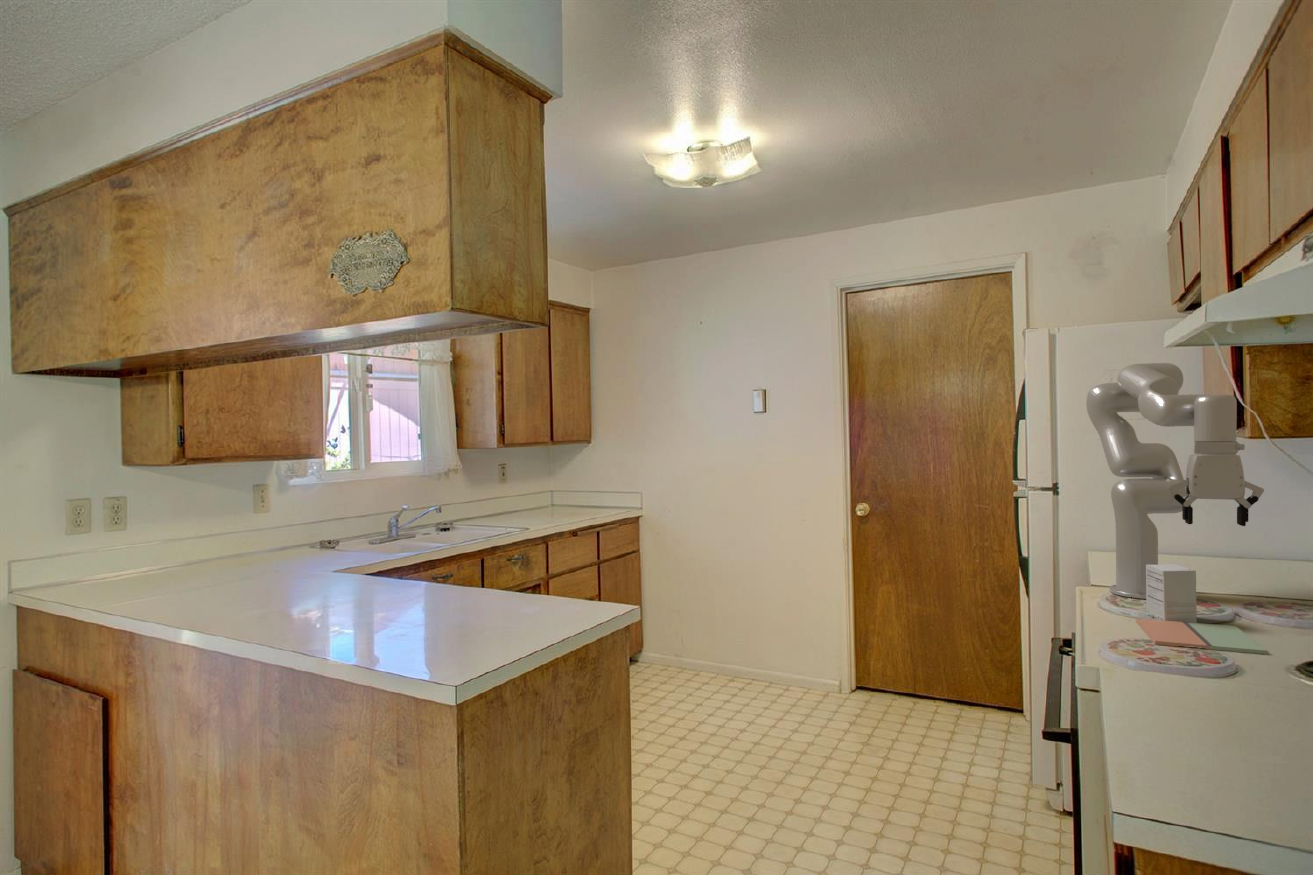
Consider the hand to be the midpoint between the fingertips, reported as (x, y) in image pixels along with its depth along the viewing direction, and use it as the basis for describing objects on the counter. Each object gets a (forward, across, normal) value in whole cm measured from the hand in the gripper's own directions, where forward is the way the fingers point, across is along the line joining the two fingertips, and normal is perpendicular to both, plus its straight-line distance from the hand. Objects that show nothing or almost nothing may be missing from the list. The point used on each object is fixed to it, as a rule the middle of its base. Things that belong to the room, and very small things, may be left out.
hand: (1214, 524), depth 159 cm
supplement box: (+24, +7, -6) cm, 26 cm away
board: (+24, +5, +8) cm, 26 cm away
